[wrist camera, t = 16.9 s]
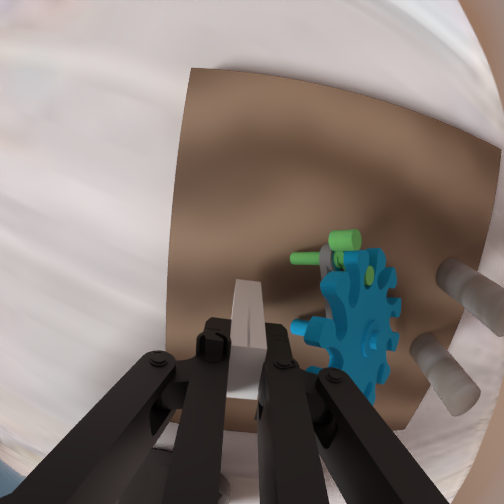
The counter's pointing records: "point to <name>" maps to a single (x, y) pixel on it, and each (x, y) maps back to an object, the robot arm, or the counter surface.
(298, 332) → the gear
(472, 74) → the counter surface
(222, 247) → the dowel plate
